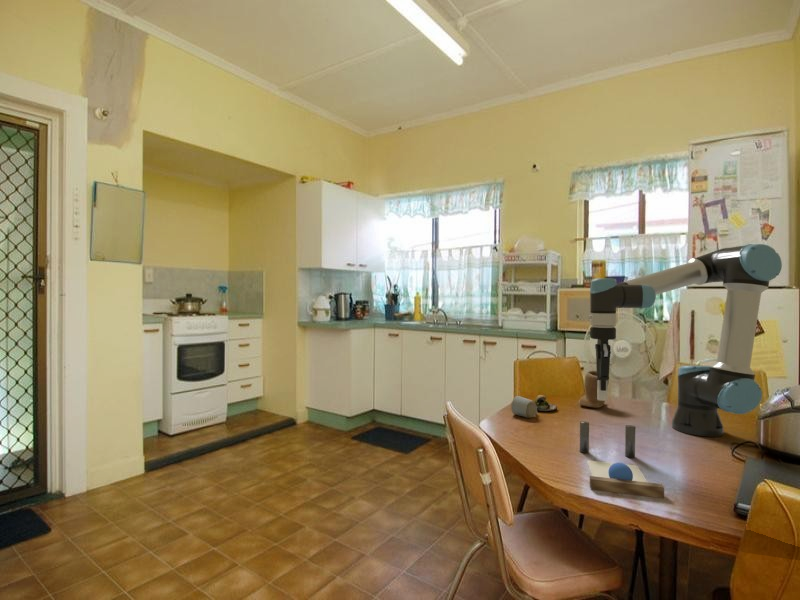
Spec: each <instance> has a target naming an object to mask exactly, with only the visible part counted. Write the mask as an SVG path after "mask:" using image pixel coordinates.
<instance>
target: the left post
mask: <svg viewBox="0 0 800 600" xmlns="http://www.w3.org/2000/svg"><path fill="white" fill-rule="evenodd" d="M579 452H580V453H581V454H586V455H587V454H589V453H590V422H589V421H579Z"/></svg>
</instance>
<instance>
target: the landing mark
mask: <svg viewBox="0 0 800 600" xmlns="http://www.w3.org/2000/svg"><path fill="white" fill-rule="evenodd" d="M586 462H587V465H589V466H588V468H589V471H590V474H591V476H595V477H604V478H610V477H609V473H608V471H609V468H610V466H611V465H612V464H614V463H615V462H607V461H598V460H586ZM626 465H627V466H628V467H629V468H630V469H631V471H632V473H633V479H632V481H639V482H648V480H647V479H646V477H645V476H644V473H643V472H642V471H641V469H640V468H639V466H638V465H637V464H636V465H635V464H628V463H627V464H626Z"/></svg>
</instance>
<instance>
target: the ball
mask: <svg viewBox="0 0 800 600" xmlns="http://www.w3.org/2000/svg"><path fill="white" fill-rule="evenodd" d="M613 463H614V464H612V465H611V466H610V468H609V471H608V473H609V477H610V478H613V479H621V480H630V481H632V479H633V473H632V471H631V469H630V468H629V467H628V466H627V465H626V464H625V463H623V462H613Z"/></svg>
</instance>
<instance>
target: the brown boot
mask: <svg viewBox="0 0 800 600" xmlns="http://www.w3.org/2000/svg"><path fill="white" fill-rule="evenodd" d="M596 373H597V370H588V371H586V373H585V376H584V382H583V383H584V390H585V394H583V396H582V397H581V398H580V399H579V400H578V404H579V405H581V406H583V407H588V408H596V409H597V408H598V409H599V408H602V407H603V406H604V405H605V402H606V401H602V400H598V399H597V392H598V380H596V378H597V375H596ZM609 381H610V379H609V380H608V384H609Z"/></svg>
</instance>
